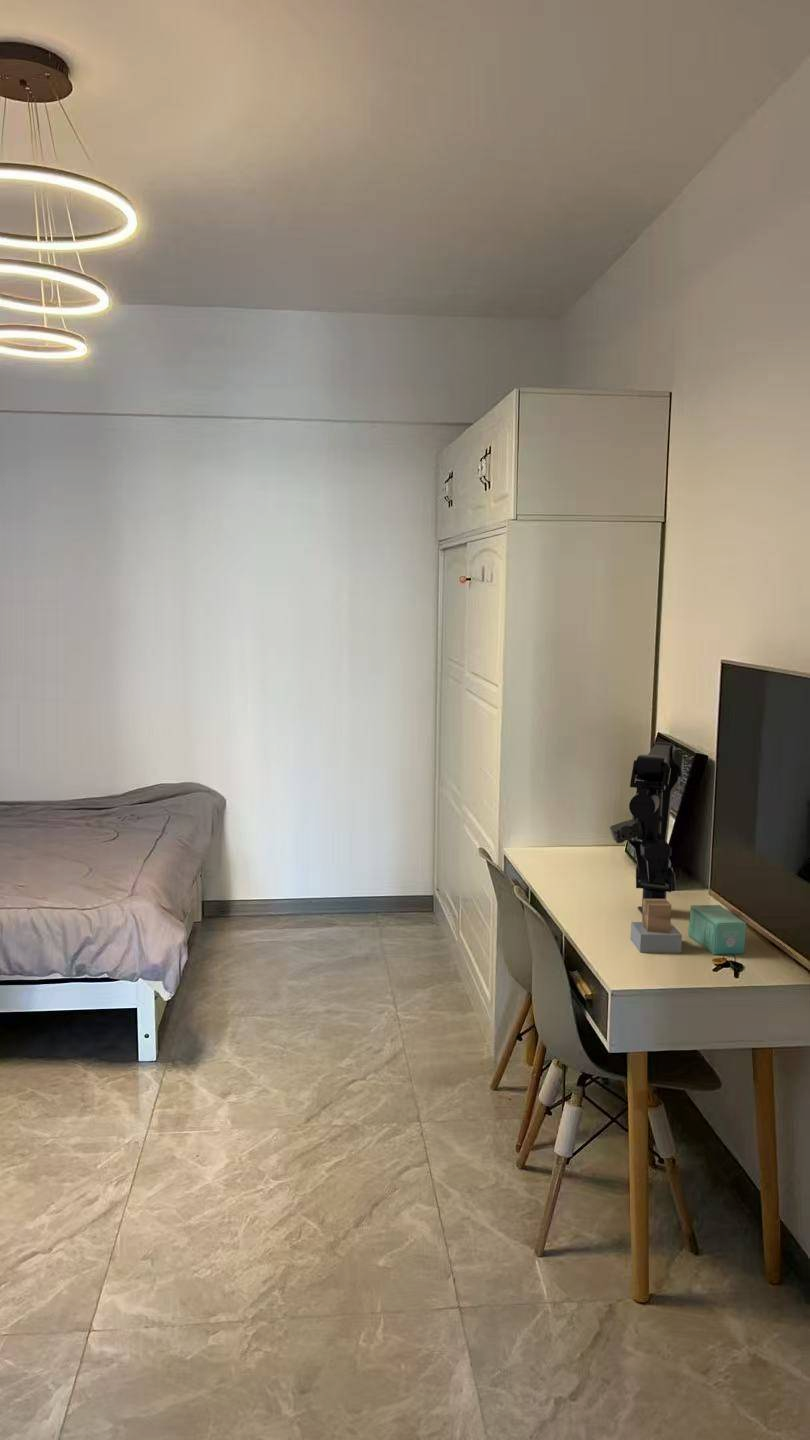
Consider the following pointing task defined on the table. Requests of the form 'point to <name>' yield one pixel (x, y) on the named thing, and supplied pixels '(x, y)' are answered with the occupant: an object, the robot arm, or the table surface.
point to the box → (717, 929)
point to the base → (655, 939)
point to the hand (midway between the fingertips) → (646, 876)
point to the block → (656, 915)
